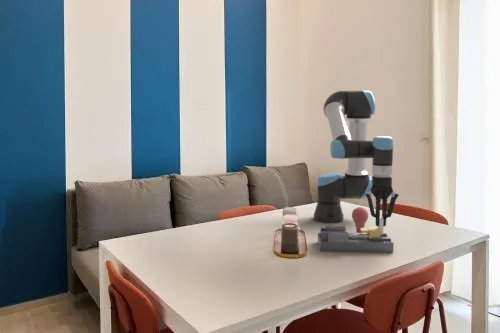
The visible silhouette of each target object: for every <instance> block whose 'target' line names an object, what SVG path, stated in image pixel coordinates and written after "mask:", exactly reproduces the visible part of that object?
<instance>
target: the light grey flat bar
mask: <svg viewBox="0 0 500 333" xmlns="http://www.w3.org/2000/svg"><path fill="white" fill-rule="evenodd" d="M348 234H349V238H350V237H369V235H368V233H357V232H348Z"/></svg>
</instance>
